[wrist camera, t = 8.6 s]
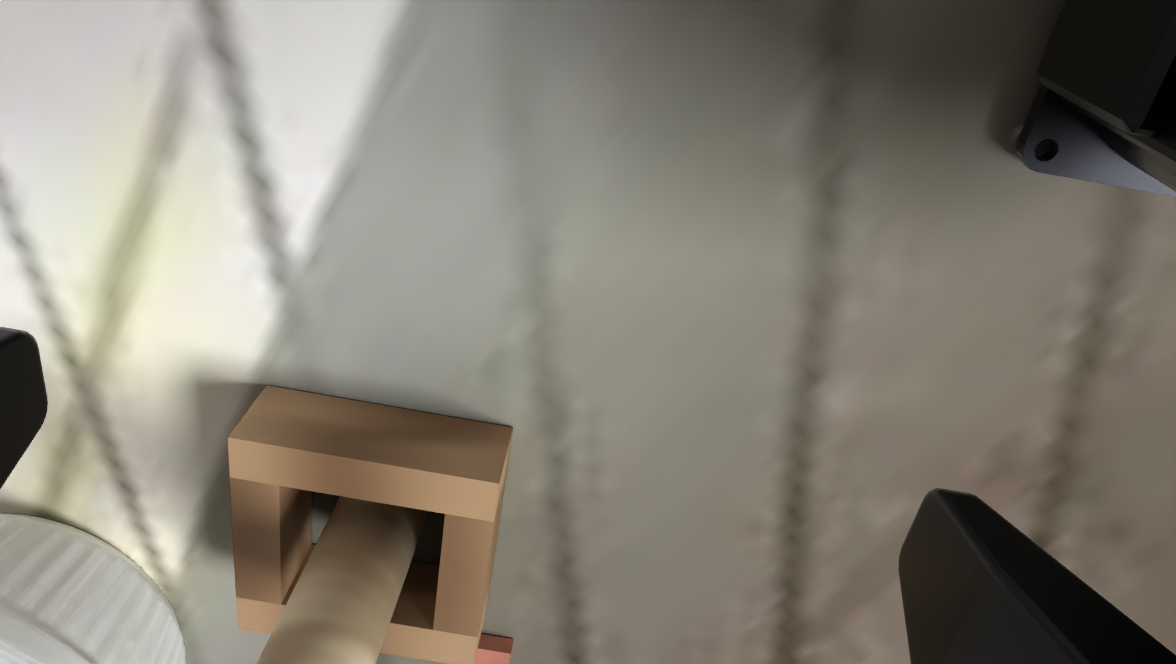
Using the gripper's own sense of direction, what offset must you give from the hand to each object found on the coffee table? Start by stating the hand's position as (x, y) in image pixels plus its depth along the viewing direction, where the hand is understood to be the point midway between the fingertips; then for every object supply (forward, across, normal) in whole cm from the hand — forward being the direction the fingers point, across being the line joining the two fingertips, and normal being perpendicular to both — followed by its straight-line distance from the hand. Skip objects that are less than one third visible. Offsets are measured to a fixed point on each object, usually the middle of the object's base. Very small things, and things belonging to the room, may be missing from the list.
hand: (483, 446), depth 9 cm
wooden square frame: (+13, +4, +12) cm, 18 cm away
